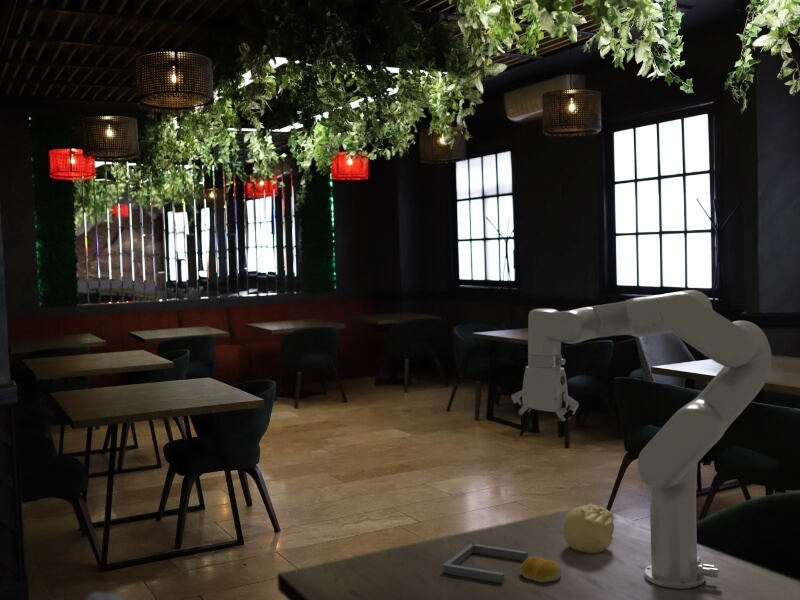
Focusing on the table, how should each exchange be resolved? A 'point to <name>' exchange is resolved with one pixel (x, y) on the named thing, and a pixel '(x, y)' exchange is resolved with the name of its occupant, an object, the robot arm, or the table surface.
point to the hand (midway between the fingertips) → (544, 433)
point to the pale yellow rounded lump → (589, 528)
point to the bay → (454, 569)
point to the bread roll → (540, 569)
